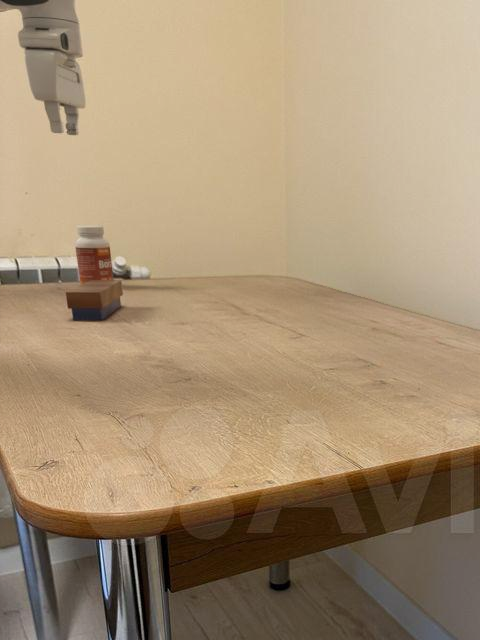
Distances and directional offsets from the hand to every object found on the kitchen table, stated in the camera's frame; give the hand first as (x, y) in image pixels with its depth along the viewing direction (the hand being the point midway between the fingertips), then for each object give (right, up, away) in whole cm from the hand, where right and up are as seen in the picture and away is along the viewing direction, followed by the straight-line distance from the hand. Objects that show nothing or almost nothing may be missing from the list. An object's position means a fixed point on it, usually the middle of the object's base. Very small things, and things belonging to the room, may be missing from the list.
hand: (65, 134), depth 125 cm
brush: (+11, -35, -14) cm, 39 cm away
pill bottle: (+1, -24, +12) cm, 27 cm away
